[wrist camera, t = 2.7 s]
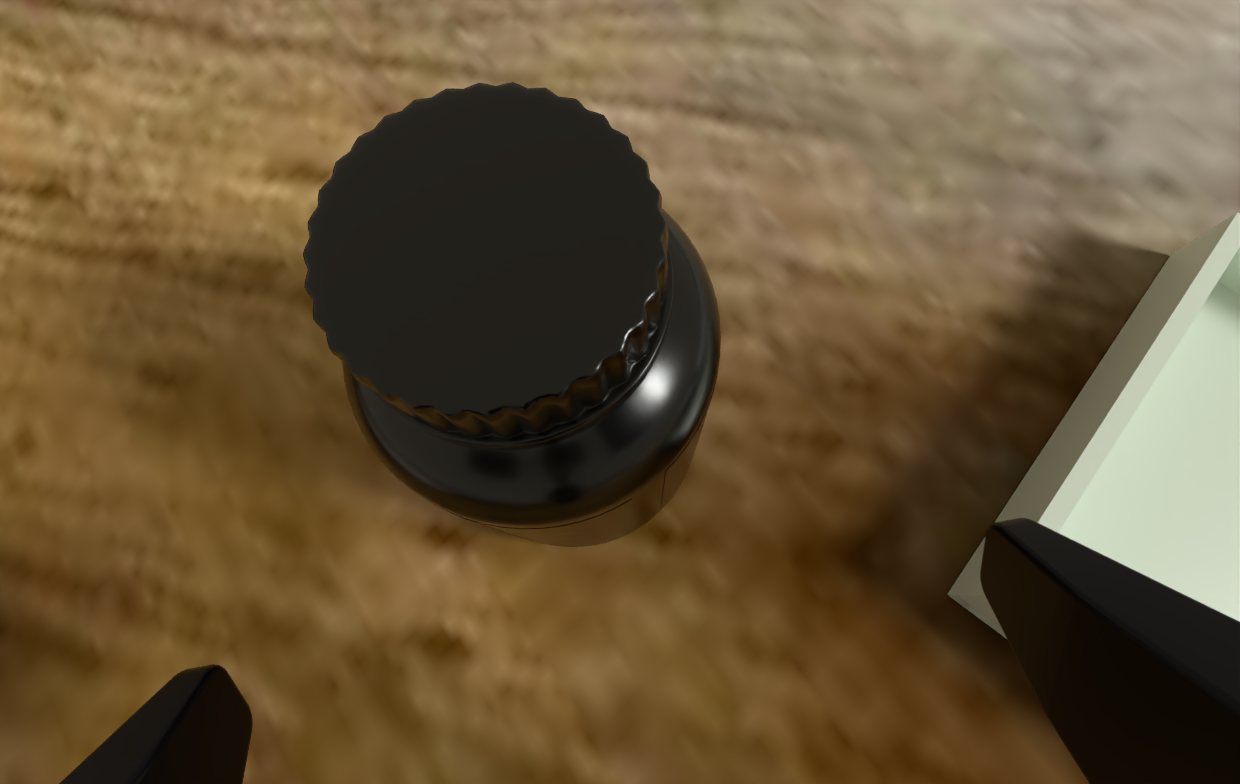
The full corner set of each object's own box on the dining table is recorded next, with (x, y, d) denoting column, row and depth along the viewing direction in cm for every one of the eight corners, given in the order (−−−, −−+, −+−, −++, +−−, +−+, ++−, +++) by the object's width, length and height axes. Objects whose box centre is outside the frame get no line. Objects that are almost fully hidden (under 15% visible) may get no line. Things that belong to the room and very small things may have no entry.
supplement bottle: (515, 289, 22) (372, -45, 10) (726, 364, 21) (828, 91, 9) (418, 499, 20) (120, 379, 9) (643, 590, 19) (645, 591, 8)
